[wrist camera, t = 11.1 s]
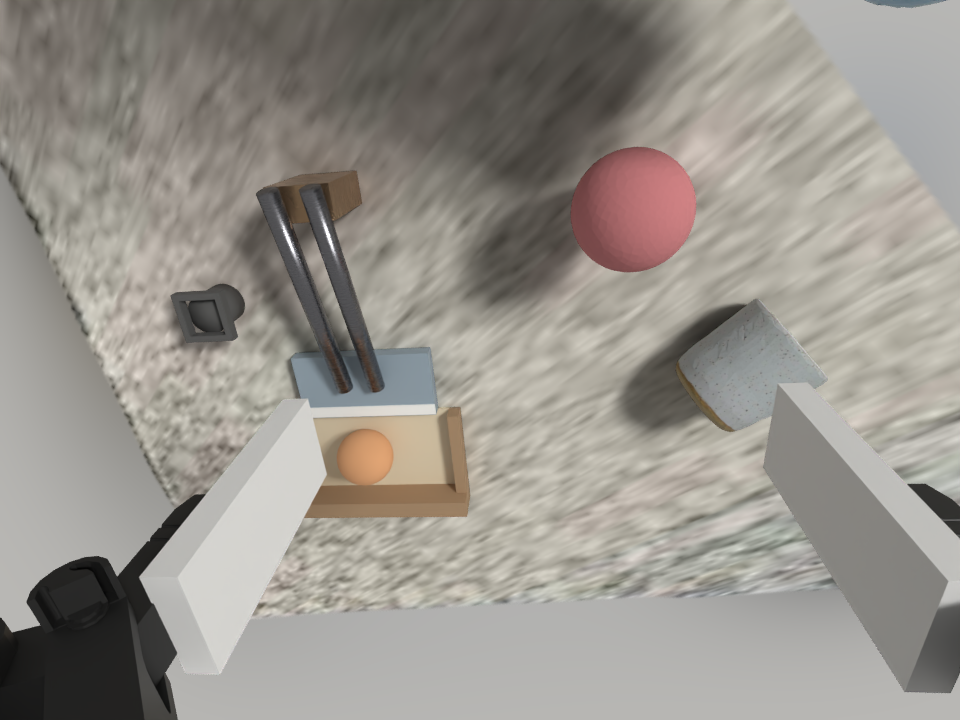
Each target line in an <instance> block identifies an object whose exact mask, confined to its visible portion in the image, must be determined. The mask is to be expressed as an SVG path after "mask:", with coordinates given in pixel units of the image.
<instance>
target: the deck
mask: <svg viewBox="0 0 960 720" xmlns="http://www.w3.org/2000/svg"><path fill="white" fill-rule="evenodd" d="M340 352H341V355H342V357H343V360H344V363H345V365H346V368H347V370H348V373H349V376H350V378H351V381H352V384H353V389H352V390H351V391H350V392H348V393H345V394H341V393H339V392H338V391H337V389H336V387H335V384H334V382H333V379H332V377H331V375H330V372H329V370H328V367H327V365H326V362H325V360H324V358H323V355H322V353H321V352H306V353H295V355H294V356H293V357H292V358H291V362H292V366H293V370H294V374H295V378H296V382H297V386H298V389H299V393H300V397H301V399H308V401H309V405H310V409H311V413H312V417H313V418H338V417H374V416H409V415H436V414H437V410H438V402H437V394H436V387H435V379H434V372H433V364H432V357H431V349H430V347H425V348H401V349H377V350H374V352H375V355H376V358H377V361H378V364H379V367H380V371H381V374H382V377H383V380H384V383H385V387H384V389H383V390H382V391H380V392H377V393H373V392H371V391H370V390H369V388H368V385H367V382H366V380H365V377H364V374H363V371H362V368H361V365H360V363H359V360H358V357H357V354H356V351H355V350H354V351H340Z"/></svg>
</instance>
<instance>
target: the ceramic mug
mask: <svg viewBox="0 0 960 720" xmlns="http://www.w3.org/2000/svg"><path fill="white" fill-rule="evenodd" d="M676 373H677V376H678V378H679V380H680V381H681V383H682V385H683V386H684V388H685V390H686V391H687V392H688V394H689V395H690V397H691V398H692V399H693V401H694V402H695V403H696V404H697V406H698V407H699V408H700V409H701V410H702V411H703V413H704V414H705V415H706V416H707V417H708V418H709V419H710V420H711V421H712V422H713V423H714V424H715V425H717V426H718V427H719V428H720V429H722V430H725V431H729V432H733V431H737V430H740V429H743V428H745V427H748V426H750V425H752V424H754V423H756V422H757V421H759V420H761V419H765V418H768V417H770V416H772V413H773V407H774V401H775V396H776V390H777V384H778V383H805V382H808V383H809V384H810V385H811V386H812V387H813V388H814V389H815V388H817V387H819V386H820V385H822V384H824V383H825V382H826V381H827V380H828V377H827V376H826V374H825V373H824V372H823V371H822V369H821V368H820V367H819V366H818V365H817V364H816V363H815V361H814V360H813V359H812V358H811V357H810V356H809V355H808V354H807V352H806V351H805V350H804V349H803V348H802V346H801V345H800V344H799V343H798V342H797V340H796V339H795V338H794V337H793V336H792V334H791V333H790V332H789V331H788V330H787V329H786V328H785V327H784V326H783V325H782V324H781V323H780V321H779V320H778V319H777V318H776V317H775V316H774V315H773V314H772V313H771V312H770V311H769V309H768V308H767V307H766V306H765V305H764V304H763V303H762V302H761V301H760V299H754V300H753V301H751V302H750V303H749V304H747V305H746V306H745V307H744V308H742V309H741V310H740V311H738V312H737V313H736V314H735V315H733V316H732V317H731V318H729V319H728V320H727V321H725V322H724V323H723V324H721V325H720V326H719V327H717V328H716V329H715V330H714V331H712V332H711V333H710V334H709V335H707V336H706V337H705V338H703V339H702V340H700V341H699V342H697V343H696V344H695V345H693V346H692V347H691V348H690V349H688V351H687V352H686V353H685V354H684V355H683V356H682V357H681V358H680V359H679V360H678V361H677V364H676Z"/></svg>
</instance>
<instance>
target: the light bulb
mask: <svg viewBox="0 0 960 720" xmlns="http://www.w3.org/2000/svg"><path fill="white" fill-rule="evenodd" d="M695 215H696V197H695V192H694V188H693V185H692V183H691V180H690V178H689V176H688V174H687V173H686V171H685V170H684V169H683V167H682V166H681V165H680V164H679V163H678V162H677V161H675V160H674V159H673V158H671V157H670V156H668V155H667V154H665V153H663V152H661V151H658V150H655V149H651V148H646V147H631V148H624V149H621V150H617V151H614V152H612V153H610V154H608V155H606V156H604V157H603V158H601V159H599V160H598V161H597V162H596V163H594V164H593V165H592V166H591V167H590V168H589V169H588V171H587V172H586V173H585V174H584V176H583V177H582V178H581V180H580V182H579V183H578V185H577V188H576V190H575V193H574V195H573V200H572V205H571V223H572V228H573V233H574V235H575V238H576V240H577V242H578V244H579V245H580V247H581V248H582V250H583V251H584V252H585V253H586V254H587V255H588V256H589V257H590V258H591V259H592V260H593V261H595V262H596V263H598V264H599V265H601V266H603V267H605V268H608V269H611V270H614V271H620V272H638V271H644V270H648V269H650V268H653V267H655V266H657V265H659V264H661V263H663V262H665V261H666V260H668V259H669V258H670V257H672V256H673V255H674V254H675V253H676V252H677V251H678V250H679V249H680V247H681V246H682V245H683V244H684V242H685V241H686V239H687V237H688V236H689V234H690V231H691V229H692V226H693V223H694V219H695Z"/></svg>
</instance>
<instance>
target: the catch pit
mask: <svg viewBox="0 0 960 720" xmlns="http://www.w3.org/2000/svg"><path fill="white" fill-rule="evenodd" d="M313 421H314V425H315V429H316V433H317V437H318V441H319V445H320V449H321V453H322V457H323V461H324V465H325V469H326V473H327V475H326V477H325V479H324V481H323V483H322V484H321V486H320V488H319V490H318V492H317V494H316V496H315V498H314V499H313V501H312V503H311V505H310V507H309V509H308V511H307V513H306V514H305V516H304V518H351V517H467V514H468V507H469V500H470V489H469V480H468V472H467V463H466V454H465V445H464V436H463V427H462V418H461V410H460V407H446V408H438V410H437V414H436V415H409V416H374V417H338V418H313ZM361 429H371V430H375V431H378V432H380V433H381V434H383V435H384V436H385V437H386V438H387V439H388V440H389V442H390V444H391V446H392V449H393V454H394V458H393V464H392V467H391V469H390V471H389V473H388V474H387V475H386V476H385V477H384V478H383V479H382V480H381V481H379V482H377V483H375V484H372V485H366V486H362V485H357V484H353V483H351V482H350V481H348V480H347V479H346V478H345V477H344V476H343V475H342V474H341V472H340V470H339V468H338V465H337V451H338V448H339V446H340V444H341V442H342V441H343V440H344V439H345V438H346V437H347V436H348V435H349V434H351V433H352V432H354V431H357V430H361Z"/></svg>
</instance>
